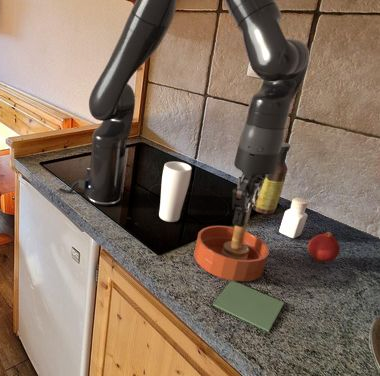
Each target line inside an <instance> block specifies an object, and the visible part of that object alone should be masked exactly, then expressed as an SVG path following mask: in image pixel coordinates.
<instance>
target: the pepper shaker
mask: <svg viewBox="0 0 380 376" xmlns="http://www.w3.org/2000/svg"><path fill="white" fill-rule="evenodd" d="M308 204H309V201H308V200H306V199H304V198H301V197H293V199H292V201H291V204H290V208H289V209H286V210H285V211H284V214H283V217H282V220H281V224H280V226H279V230H278V232H279V233H280V234H281V235H284V236H286V237H288V238H291V239H295V238H298V237H300V236H301V235H302V233H303V230H304V228H305V225H306V221H307V218H308V214H307V212H305V211H306V210H307V206H308Z"/></svg>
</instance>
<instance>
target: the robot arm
mask: <svg viewBox="0 0 380 376" xmlns="http://www.w3.org/2000/svg"><path fill="white" fill-rule="evenodd" d="M223 1H224V3H225V6H226V8H227V11H228V13H229V14H230V16H231V19H232V21H233V22H234V24H235V26H236V27H237V29H238V31H239V32H240V34H241V35H242V36H241V37H242V41H243V46H244V50H245V53H246V57H247V60H248V63H249V65H250V67H251V69H252V70H253V72H254V74H256V76H257V77H258V78H260V79H261V80H263V81H262V84H261V86H260V88H259V90H258V91H257V92H255V93H254V94H253V95H252V97H251V98H250V101H249V104H248V107H247V112H246V117H245V120H244V124H243V127H242V130H241V133H240V137H239V139H238V145H237V150H236V154H235V159H234V162H233V166H234V167H235V168H236V169H237V170H239V171H240V172H241V173H242V174H241V176H239V177H238V179H237V182H236V185H237V187H234V188H233V189H232V197H231V198H232V200H231V209H232V210H233V211H234V215H233V218H232V225H234V226H235V225H236V226H239V227H243V226H244V224H245V220H246V216H247V212H248V210H249V206H250V203H251V206H250V210H249V215H248V220H247V222H249V220H250V216H251V213H252V210H253V208H252V207H253V205H254V204H255V203H254V202H255V201H257V199H258V196H259V193H260V190H261V188H262V185H263V183H264V180H265V178H266V175H269V174H272V173H273V172H274V171H275V169H276V165H277V161H278V158H279V154H280V151H281V147H282V143H283V142H284V139H285V132H286V126H287V122H288V119H289V115H290V111H291V106H292V103H293V101H294V99H295V97H296V95H297V94H298V91H299V90H300V87H301V85H302V83H303V81H304V78H305V76H306V74H307V71H308V67H309V63H310V50H309V48H308V46H307V45H306V43H305V42H304V41H302V40H300V39H296V38H286V36H285V34H284V33H283V30H282V28H281V25H280V23H281V21H282V13H281V10H280V8H279V6H278V4H277V2H276V0H223ZM177 4H178V0H135V2H134V4H133V6H132V8H131V10H130V13H129V15H128V17H127V20H126V22H125V24H124V26H123V29H122V31H121V33H120V36H119V38H118V40H117V42H116V44H115V47H114V49H113V51H112V53H111V55H110V58H109V60H108V61H107V64H106V65H105V67H104V69H103V71H102V72H101V74H100V76H99V78H98V79H97V81H96V83H95V84H94V86H93V88H92V90H91V92H90V95H89V99H88V109H89V113H90V115H91V116H92V118H94V119H95V120H97V121H100V122H101V121H102V122H101V123H100V125H99V126H98V127H97V128H96V129H95V130H94V131H92V132H93V133H92V140H91V153H90V154H91V155H90V163H89V164H90V165H88V166H87V168H86V175H85V176H84V177H81V178H79V179H78V180H77V181H75V182H74V183H72V184H71V188H70V189H65V188H61V187H59V188H58V190H59V191H60V192H63V193H65V194H70V193H73V191H74V189H75V186H77V185H78V188H80V189H83V190H85V193H84V198H86V199H87V200H88V201H89V202H90V203H91V204H94V205H96V206H101V207H111V206H112V207H113V206H116V205H118V204H120V203H121V194H122V193H121V192H122V186H123V177H124V176H123V175H124V167H125V158H126V149H127V141H128V138H129V136H130V134H131V131H132V126H133V120H134V114H135V107H136V97H135V92H134V89H133V88H132V86H131V85H130V84H129V82H130V80H131V78H132V77H133V76H134V74H135V73H136V72H137V71H138V70H139V69H140V68H141V67H142V66H143V65H144V64H145V63H146V62H147V61H148V60H149V58H150V57H152V55H153V54H154V53H155V52H156V50H158V48H159V47H160V45H161V43H162V42H163V40H164V39H165V36H166V34H167V32H168V31H169V29H170V27H171V25H172V24H173V23H172V22H173V21H174V18H175V15H176V10H177Z"/></svg>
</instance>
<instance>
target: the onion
mask: <svg viewBox="0 0 380 376" xmlns="http://www.w3.org/2000/svg"><path fill="white" fill-rule="evenodd" d="M307 250H308V254H309V255H310V256H311V258H312V259H313V260H314V262H316V263H317V264H323V263H324V264H325V263H329V262H333V261H334V260H336V259H337V258H338V256H339V254H340V251H341V247H340V244H339V241H338V240H337V239H336V238H335V236H333V234H332V232H330V231H326V232H325V233H319V234H317V235H315V236H313V237H312V238H311V239H310V240H309V242H308V245H307Z"/></svg>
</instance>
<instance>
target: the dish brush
mask: <svg viewBox="0 0 380 376" xmlns="http://www.w3.org/2000/svg"><path fill="white" fill-rule="evenodd" d="M250 206H251V203H250ZM250 206H249V210H250ZM251 207H252V206H251ZM249 210H248V212H247V216H246V220H245V224H244V226H243V227H239V226H236V225H234V226H233V228H234V232H233V237H232V241H228V242H225V243H224V245H223V250H222V255H223V256H225V257H229V258H233V259H238V260H247V258H248V253H249V248H248V247H247V246H246V245H244V244H243V239H244V234H245V231H247V230H246V229H247V224H248V221H249V220H248V215H249ZM247 220H248V221H247Z"/></svg>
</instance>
